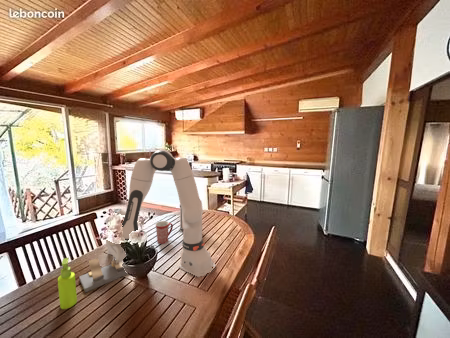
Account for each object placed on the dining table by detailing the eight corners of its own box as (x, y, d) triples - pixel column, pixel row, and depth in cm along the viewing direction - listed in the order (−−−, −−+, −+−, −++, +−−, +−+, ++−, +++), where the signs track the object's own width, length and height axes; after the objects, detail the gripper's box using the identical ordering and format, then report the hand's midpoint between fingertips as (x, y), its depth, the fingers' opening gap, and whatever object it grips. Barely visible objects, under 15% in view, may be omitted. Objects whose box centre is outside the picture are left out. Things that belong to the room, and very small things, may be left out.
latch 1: (103, 278, 102) (103, 277, 101) (93, 282, 99) (93, 281, 98) (97, 258, 106) (98, 257, 106) (88, 262, 103) (88, 260, 102)
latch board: (134, 270, 112) (134, 266, 111) (85, 292, 95) (84, 287, 95) (126, 261, 120) (125, 257, 120) (79, 279, 103) (79, 274, 103)
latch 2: (126, 268, 109) (126, 266, 109) (117, 272, 106) (117, 269, 106) (119, 259, 116) (119, 257, 116) (111, 262, 113) (110, 260, 113)
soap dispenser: (77, 295, 94) (74, 255, 91) (76, 305, 88) (72, 263, 85) (61, 300, 91) (57, 258, 88) (59, 311, 85) (54, 267, 82)
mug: (159, 245, 138) (159, 227, 136) (153, 241, 145) (153, 223, 143) (175, 240, 147) (175, 222, 145) (169, 235, 153) (169, 218, 151)
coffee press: (201, 229, 166) (201, 193, 161) (183, 234, 155) (183, 197, 151) (190, 222, 179) (190, 189, 174) (173, 226, 169) (173, 192, 164)
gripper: (128, 243, 106) (129, 267, 108) (115, 230, 120) (116, 252, 122) (115, 247, 102) (116, 272, 104) (103, 233, 116) (104, 256, 118)
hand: (116, 261), depth 113 cm, fingers closed on latch 2, 2 cm apart
